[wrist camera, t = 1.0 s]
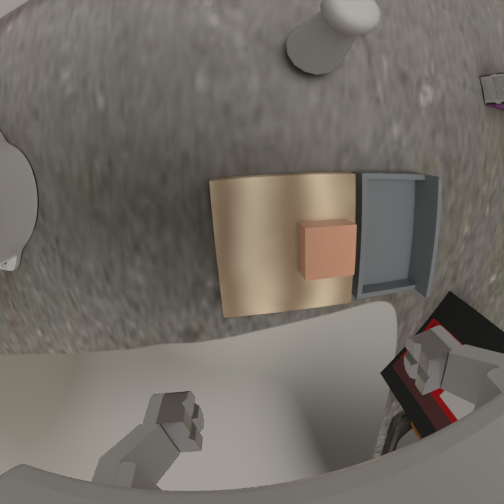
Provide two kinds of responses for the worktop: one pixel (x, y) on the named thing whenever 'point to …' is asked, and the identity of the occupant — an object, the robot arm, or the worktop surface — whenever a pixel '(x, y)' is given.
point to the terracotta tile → (327, 248)
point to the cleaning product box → (440, 401)
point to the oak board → (275, 239)
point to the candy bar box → (493, 90)
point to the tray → (396, 232)
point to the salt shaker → (331, 34)
